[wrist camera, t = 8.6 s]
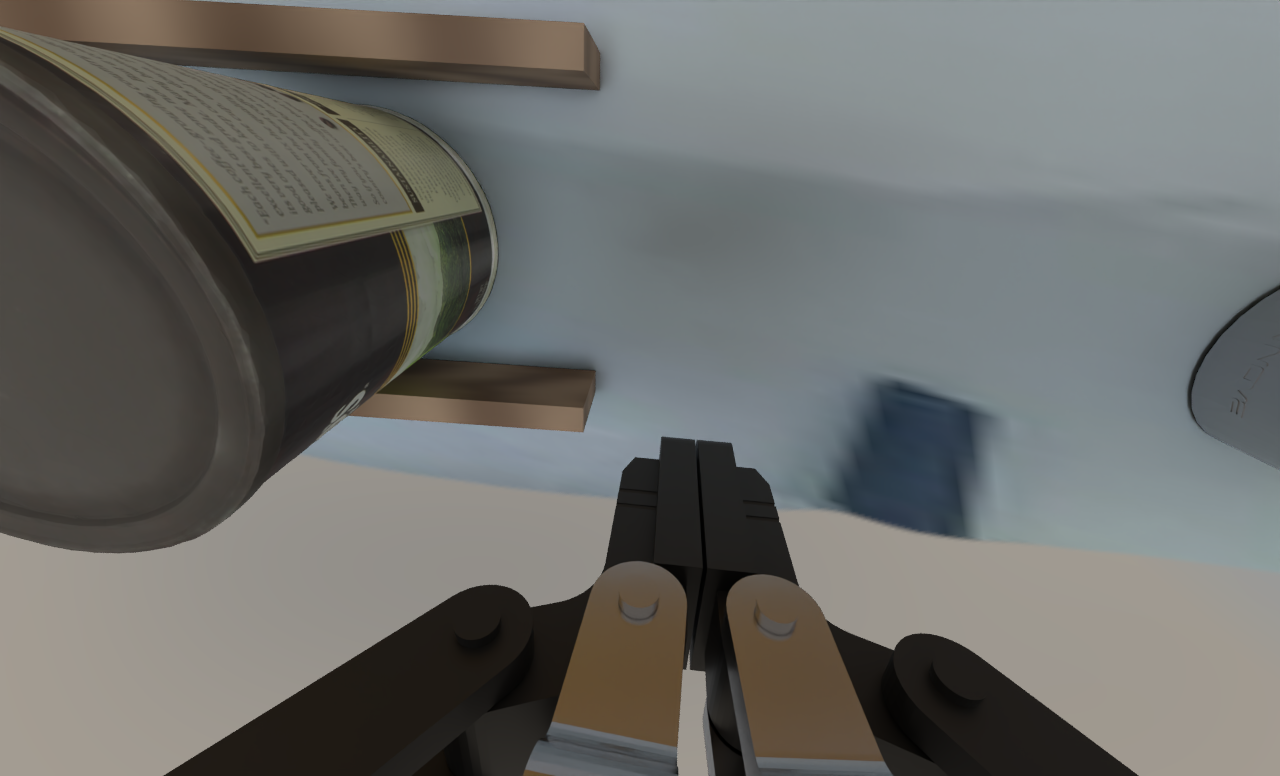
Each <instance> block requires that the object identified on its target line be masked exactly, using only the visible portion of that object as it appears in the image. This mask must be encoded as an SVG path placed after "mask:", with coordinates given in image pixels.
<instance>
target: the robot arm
mask: <svg viewBox="0 0 1280 776" xmlns="http://www.w3.org/2000/svg"><path fill="white" fill-rule="evenodd" d="M1192 410H1193V413H1194V416H1195V418H1196V421H1197V423H1198V424H1199V425H1200V426H1201V427H1202V428H1203V430H1204V431H1205V432H1206V433H1207V434H1209V435H1211V436H1213V437H1214V438H1216V439H1218V440H1219V441H1221V442H1223V443H1225V444H1228V445H1230V446H1232V447H1234V448H1236V449H1238V450H1240V451H1242V452H1244V453H1246V454H1248V455H1250V456H1252V457H1254V458H1256V459H1258V460H1260V461H1262V462H1264V463H1266V464H1268V465H1270V466H1272V467H1275V468H1277V469H1279V470H1280V290H1278V291H1276V292H1275V293H1273V294H1271V295H1270V296H1268V297H1266V298H1264V299H1263V300H1262V301H1260V302H1259V303H1258V304H1256V305H1255V306H1254V307H1253V308H1251V309H1250V310H1249V311H1247V312H1246V313H1245V314H1243V315H1242V316H1241V317H1240V318H1239V319H1238V320H1237V321H1236V322H1235V323H1234V324H1233V325H1232V326H1231V327H1230V328H1228V329H1227V330H1226V331H1225V332H1224V333H1223V334H1222V335H1221V337H1220V338H1219V339H1218V341H1217V342H1216V343H1215V345H1214V346H1213V347H1212V348H1211V350H1210V351H1209V352H1208V354H1207V355H1206V357H1205V359H1204V361H1203V363H1202V365H1201V367H1200V368H1199V370H1198V372H1197V374H1196V378H1195V382H1194V385H1193V389H1192ZM774 504H775V503H774V499H773V496H772V492H771V489H770V485H769V484H768V483H767V482H766V481H765V479H764V478H763V477H762V476H761V475H760V474H759V473H758V472H757V470H756V469H753V468H743V467H736V463H735V457H734V452H733V447H732V444H731V443H725V442H715V441H704V440H697V442H696V446H695V440H692V439H681V438H670V437H661V446H660V456H659V460H658V459H647V458H637V457H635V458H634V459H633V460H632V461H631V462H630V463H629V465H628V466H627V467H626V468H625V469H624V470H623V472H622V477H621V482H620V488H619V493H618V499H617V506H616V509H615V515H614V521H613V525H612V531H611V537H610V541H609V547H608V552H607V557H606V563H605V566H604V570H603V572H602V574H601V575H600V577H599V578H598V579H597V580H596V582H595V583H594V584H593V585H592V586H591V587H590V588H589V589H588V590H586V591H585V592H584V593H582V594H580V595H578V596H576V597H574V598H571V599H569V600H566V601H562V602H557V603H552V604H547V605H541V606H536V607H530V606H529V604H528V602H527V601H526V600H525V598H524V597H523V596H522V595H521V594H519V593H518V592H517V591H515V590H513V589H511V588H508V587H505V586H499V585H483V586H477V587H473V588H469V589H467V590H464V591H462V592H460V593H458V594H456V595H454V596H452V597H451V598H449V599H447V600H446V601H444V602H442V603H441V604H439V605H438V606H436V607H435V608H433V609H431V610H430V611H428V612H426V613H425V614H423V615H422V616H420V617H418V618H417V619H415V620H414V621H412V622H410V623H409V624H407V625H405V626H404V627H402V628H401V629H399V630H398V631H396V632H394V633H393V634H391V635H389V636H388V637H386V638H385V639H383V640H381V641H380V642H378V643H376V644H375V645H373V646H372V647H370V648H368V649H367V650H365V651H364V652H362V653H360V654H359V655H357V656H356V657H354V658H352V659H351V660H349V661H347V662H346V663H344V664H343V665H341V666H340V667H338V668H336V669H335V670H333V671H331V672H330V673H328V674H327V675H325V676H323V677H322V678H320V679H318V680H317V681H315V682H314V683H312V684H310V685H309V686H307V687H306V688H304V689H302V690H301V691H299V692H298V693H296V694H294V695H293V696H291V697H289V698H288V699H286V700H285V701H283V702H281V703H280V704H278V705H277V706H275V707H273V708H272V709H270V710H269V711H267V712H265V713H264V714H262V715H261V716H259V717H257V718H256V719H254V720H252V721H251V722H249V723H248V724H246V725H244V726H243V727H241V728H240V729H238V730H236V731H235V732H233V733H232V734H230V735H228V736H227V737H225V738H223V739H222V740H221V741H219V742H217V743H215V744H214V745H212V746H211V747H209V748H207V749H206V750H204V751H203V752H201V753H199V754H198V755H196V756H194V757H193V758H191V759H190V760H188V761H186V762H185V763H183V764H182V765H180V766H179V767H177V768H175V769H173V770H172V771H170V772H169V773H167V774H166V775H164V776H678V767H677V744H678V731H679V717H680V702H681V687H682V672H683V669H686V667H687V661H688V654H689V649H690V670H696V671H705V672H706V691H707V698H706V702H705V707H704V714H703V730H704V739H705V748H706V757H707V766H708V775H709V776H1138V775H1137V774H1136V773H1134V772H1133V771H1131V770H1130V769H1129V768H1128V767H1126V766H1125V765H1124V764H1122V763H1121V762H1120V761H1118V760H1117V759H1116V758H1114V757H1113V756H1112V755H1110V754H1109V753H1108V752H1106V751H1105V750H1104V749H1102V748H1101V747H1100V746H1098V745H1097V744H1095V743H1094V742H1093V741H1092V740H1090V739H1089V738H1088V737H1086V736H1085V735H1083V734H1082V733H1081V732H1080V731H1078V730H1077V729H1075V728H1074V727H1073V726H1071V725H1070V724H1069V723H1067V722H1066V721H1065V720H1063V719H1062V718H1061V717H1059V716H1058V715H1057V714H1055V713H1054V712H1053V711H1051V710H1050V709H1049V708H1047V707H1046V706H1045V705H1043V704H1042V703H1041V702H1039V701H1038V700H1037V699H1035V698H1034V697H1033V696H1031V695H1030V694H1029V693H1027V692H1026V691H1025V690H1023V689H1022V688H1021V687H1019V686H1018V685H1017V684H1015V683H1014V682H1013V681H1011V680H1010V679H1009V678H1007V677H1006V676H1005V675H1003V674H1002V673H1001V672H999V671H998V670H997V669H995V668H994V667H993V666H991V665H990V664H988V663H987V662H986V661H985V660H983V659H982V658H981V657H979V656H978V655H976V654H975V653H973V652H972V651H970V650H969V649H967V648H965V647H963V646H962V645H960V644H958V643H956V642H954V641H951V640H949V639H946V638H943V637H940V636H937V635H932V634H921V633H920V634H912V635H909V636H906V637H904V638H903V639H902V640H900V642H899V643H898V644H897V645H896V647H895V650H891V649H889V648H886V647H884V646H881V645H879V644H876V643H873V642H871V641H868V640H866V639H863V638H861V637H858V636H855V635H853V634H850V633H848V632H846V631H844V630H842V629H840V628H838V627H837V626H835V625H833V624H831V623H830V622H829V621H827V620H826V619H825V617H824V614H823V612H822V610H821V608H820V607H819V606H818V604H817V603H816V601H815V600H814V599H813V598H812V597H811V596H810V595H809V594H808V593H806V591H804V590H803V589H802V588H800V587H799V585H798V582H797V579H796V575H795V572H794V568H793V565H792V561H791V558H790V554H789V551H788V548H787V544H786V541H785V538H784V534H783V531H782V527H781V524H780V522H779V517H778V513H777V510H776V507H774Z"/></svg>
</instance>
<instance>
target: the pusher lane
mask: <svg viewBox="0 0 1280 776" xmlns="http://www.w3.org/2000/svg"><path fill="white" fill-rule="evenodd" d="M0 26H1V27H5V28H10V29H14V30H19V31H23V32H28V33H32V34H37V35H41V36H46V37H50V38H55V39H59V40H63V41H68V42H72V43H77V44H82V45H86V46H91V47H95V48H100V49H105V50H109V51H114V52H118V53H123V54H128V55H132V56H137V57H141V58H146V59H150V60H155V61H159V62H164V63H169V64H173V65H183V66H200V67H217V68H233V69H250V70H267V71H284V72H301V73H318V74H334V75H351V76H368V77H385V78H402V79H419V80H435V81H452V82H469V83H486V84H503V85H520V86H536V87H553V88H570V89H587V90H600V52H599V50H598V48H597V46H596V44H595V42H594V41H593V39H592V37H591V35H590V33H589V31H588V29H587V28H586V26H585V24H584V23H575V22H557V21H540V20H522V19H505V18H487V17H470V16H452V15H435V14H417V13H400V12H382V11H365V10H347V9H330V8H312V7H295V6H277V5H260V4H242V3H225V2H207V1H190V0H0ZM595 374H596V371H592V370H577V369H563V368H548V367H534V366H519V365H505V364H490V363H476V362H461V361H447V360H432V359H418V360H417V361H416V362H415V363H413V364H412V365H411V366H410V367H408V368H407V369H406V370H405V371H403V372H402V373H401V374H400V375H398V376H397V377H396V378H395V379H393V380H392V381H391V382H389V383H388V384H387V385H386V386H384V387H383V388H382V389H381V390H379V391H378V392H377V393H376V394H374V395H373V396H372V397H371V398H369V399H368V400H367V401H366V402H365V403H363V404H362V405H361V406H360V407H358V408H357V409H356V410H355V411H353V412H352V413H351V414H350V415H348V416H362V417H376V418H390V419H404V420H418V421H432V422H446V423H460V424H474V425H488V426H502V427H516V428H531V429H545V430H559V431H573V432H583V431H584V428H585V425H586V421H587V418H588V415H589V411H590V408H591V405H592V401H593V398H594V394H595Z"/></svg>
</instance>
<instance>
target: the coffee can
mask: <svg viewBox="0 0 1280 776" xmlns="http://www.w3.org/2000/svg"><path fill="white" fill-rule="evenodd" d="M497 261H498V244H497V236H496V229H495V224H494V220H493V216H492V213H491V209H490V206H489V204H488V201H487V199H486V197H485V194H484V192H483V191H482V189H481V187H480V185H479V184H478V182H477V180H476V178H475V177H474V175H473V173H472V172H471V171H470V169H469V168H468V167H467V165H466V164H465V163H464V161H463V160H462V159H461V158H460V157H459V155H458V154H457V153H456V152H455V151H454V150H453V149H452V148H451V147H450V146H449V145H448V144H447V143H446V142H444V141H443V140H442V139H441V138H440V137H439V136H437V135H436V134H435V133H433V132H432V131H431V130H429V129H428V128H426V127H425V126H424V125H423V124H421V123H419V122H417V121H415V120H413V119H412V118H409V117H407V116H404V115H402V114H400V113H397V112H395V111H392V110H389V109H385V108H381V107H375V106H370V105H361V104H351V103H347V102H342V101H337V100H333V99H328V98H324V97H320V96H315V95H310V94H305V93H301V92H296V91H291V90H287V89H282V88H278V87H273V86H270V85H265V84H260V83H255V82H250V81H245V80H240V79H236V78H232V77H227V76H223V75H219V74H214V73H209V72H205V71H200V70H196V69H191V68H187V67H182V66H178V65H173V64H169V63H164V62H159V61H155V60H150V59H146V58H141V57H137V56H132V55H128V54H123V53H118V52H114V51H109V50H105V49H100V48H95V47H91V46H86V45H82V44H77V43H72V42H68V41H63V40H59V39H55V38H50V37H46V36H41V35H37V34H32V33H28V32H23V31H19V30H14V29H10V28H5V27H1V26H0V532H1V533H4V534H7V535H10V536H14V537H17V538H21V539H25V540H29V541H33V542H36V543H40V544H44V545H48V546H53V547H58V548H63V549H69V550H77V551H87V552H94V553H134V552H142V551H150V550H155V549H161V548H166V547H171V546H174V545H177V544H180V543H182V542H186V541H189V540H192V539H195V538H197V537H199V536H201V535H203V534H205V533H207V532H208V531H210V530H211V529H213V528H214V527H216V526H217V525H218V524H220V523H221V522H223V521H224V520H225V519H227V518H228V517H230V516H231V515H232V514H233V513H234V512H235V511H236V510H238V509H239V508H240V507H241V506H242V505H243V504H244V503H245V502H246V501H247V500H249V499H250V497H252V496H253V494H254V493H255V492H256V491H257V490H258V489H259V488H260V486H261V485H262V484H263V483H264V482H265V481H266V480H268V479H269V478H270V477H271V476H273V475H274V474H275V473H276V472H278V471H279V470H280V469H281V468H283V467H284V466H285V465H286V464H287V463H289V462H290V461H291V460H292V459H294V458H295V457H297V456H298V455H299V454H300V453H302V452H303V451H304V450H305V449H307V448H308V447H309V446H310V445H311V444H313V443H314V442H315V441H317V440H318V439H319V438H321V437H322V436H323V435H324V434H325V433H326V432H328V431H329V430H331V429H332V428H333V427H334V426H336V425H337V424H338V423H339V422H340V421H342V420H343V419H344V418H346V417H347V416H348V415H350V414H351V413H352V412H353V411H355V410H356V409H357V408H358V407H360V406H361V405H362V404H363V403H365V402H366V401H367V400H368V399H369V398H371V397H372V396H373V395H374V394H376V393H377V392H378V391H379V390H381V389H382V388H383V387H384V386H386V385H387V384H388V383H389V382H391V381H392V380H393V379H395V378H396V377H397V376H398V375H400V374H401V373H402V372H403V371H405V370H406V369H407V368H408V367H410V366H411V365H412V364H413V363H415V362H416V361H417V360H418V359H420V358H421V357H422V356H423V355H425V354H426V353H427V352H429V351H430V350H431V349H433V348H434V347H435V346H437V345H438V344H439V343H440V342H442V341H443V340H444V339H445V338H447V337H448V336H449V335H451V334H453V333H455V332H456V331H458V330H460V329H461V328H462V327H464V326H465V325H466V324H467V323H468V322H470V321H471V320H472V319H473V318H474V317H475V316H476V314H477V313H478V312H479V311H480V309H481V308H482V307H483V305H484V303H485V302H486V300H487V298H488V297H489V294H490V292H491V289H492V286H493V283H494V280H495V275H496V270H497Z"/></svg>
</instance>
